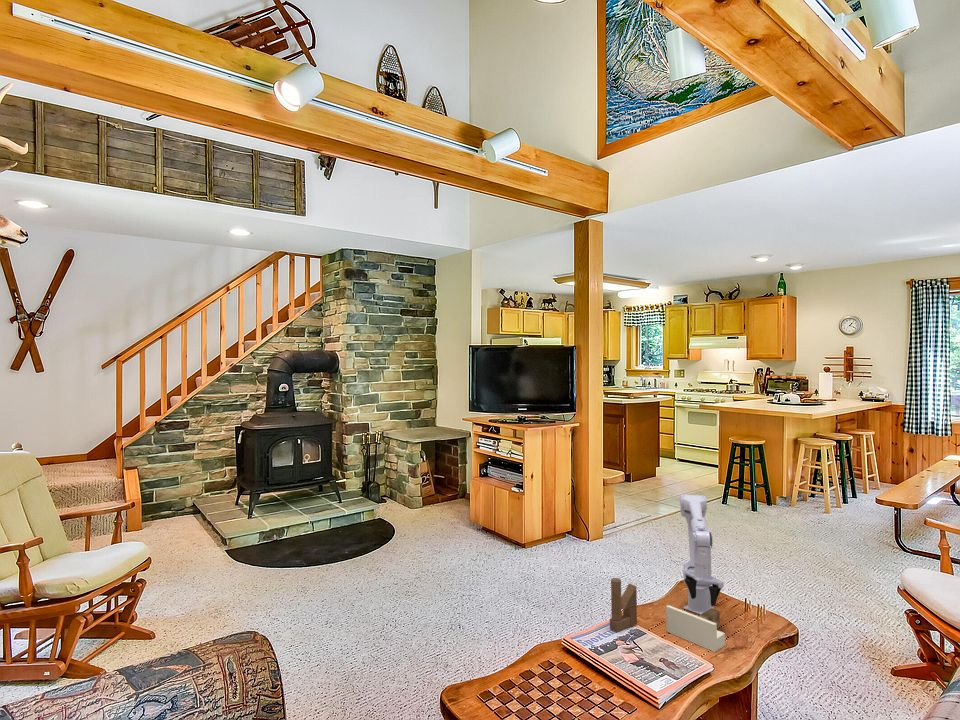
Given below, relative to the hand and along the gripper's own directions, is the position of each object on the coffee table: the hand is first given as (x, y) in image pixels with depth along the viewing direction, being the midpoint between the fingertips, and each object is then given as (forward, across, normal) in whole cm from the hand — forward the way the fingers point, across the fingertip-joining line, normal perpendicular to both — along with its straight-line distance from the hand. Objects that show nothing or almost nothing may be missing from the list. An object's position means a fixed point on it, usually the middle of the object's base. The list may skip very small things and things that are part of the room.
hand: (703, 601), depth 193 cm
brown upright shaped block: (+10, -19, -22) cm, 31 cm away
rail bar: (+10, +2, -2) cm, 10 cm away
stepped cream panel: (+9, +2, -10) cm, 14 cm away
